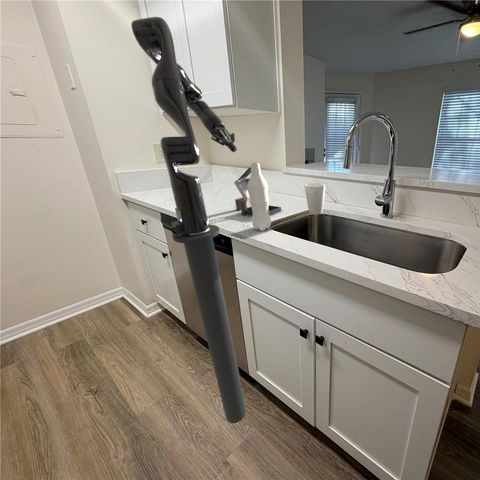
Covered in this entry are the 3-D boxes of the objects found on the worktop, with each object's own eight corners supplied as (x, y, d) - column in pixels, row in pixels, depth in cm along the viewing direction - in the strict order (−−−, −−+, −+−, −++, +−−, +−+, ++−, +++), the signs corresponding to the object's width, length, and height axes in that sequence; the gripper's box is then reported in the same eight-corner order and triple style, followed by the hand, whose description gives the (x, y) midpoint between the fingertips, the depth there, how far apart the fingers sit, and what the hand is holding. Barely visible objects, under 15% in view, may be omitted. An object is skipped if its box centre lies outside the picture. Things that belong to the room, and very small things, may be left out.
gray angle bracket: (261, 198, 128) (274, 187, 122) (244, 203, 119) (257, 191, 113) (248, 177, 128) (260, 165, 121) (230, 181, 118) (242, 168, 112)
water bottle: (260, 233, 98) (252, 164, 88) (249, 229, 102) (240, 163, 92) (275, 227, 103) (269, 162, 93) (264, 224, 107) (257, 161, 97)
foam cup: (307, 216, 116) (306, 187, 111) (304, 210, 125) (303, 183, 119) (328, 214, 118) (327, 185, 113) (323, 209, 126) (323, 182, 121)
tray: (281, 210, 125) (281, 207, 124) (264, 217, 115) (264, 213, 115) (259, 207, 131) (258, 203, 131) (241, 213, 122) (241, 209, 121)
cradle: (265, 207, 131) (264, 194, 128) (244, 215, 119) (242, 200, 117) (250, 205, 136) (248, 192, 133) (229, 212, 124) (226, 198, 121)
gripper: (220, 128, 127) (242, 155, 126) (196, 128, 116) (220, 157, 115) (226, 116, 122) (248, 143, 121) (202, 114, 112) (226, 145, 111)
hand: (234, 150), depth 118 cm, fingers closed
